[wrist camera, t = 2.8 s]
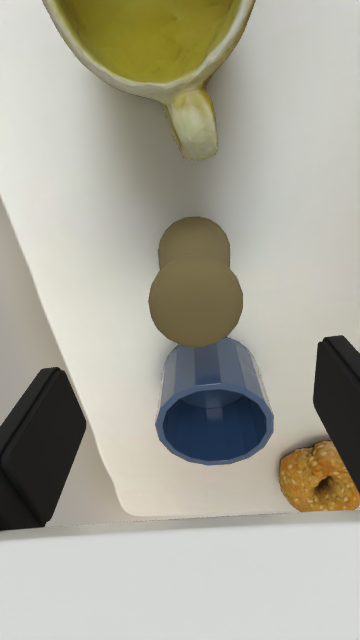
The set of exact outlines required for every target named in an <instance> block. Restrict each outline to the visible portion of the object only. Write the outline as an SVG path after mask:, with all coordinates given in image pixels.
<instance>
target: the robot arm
mask: <svg viewBox="0 0 360 640" xmlns="http://www.w3.org/2000/svg"><path fill="white" fill-rule="evenodd" d="M313 403H314V407H315V409H316V411H317V413H318V415H319V417H320V419H321V421H322V423H323V425H324V427H325V429H326V431H327V433H328V434H329V436H330V438H331V440H332V442H333V444H334V446H335V448H336V450H337V452H338V454H339V456H340V457H341V459H342V461H343V463H344V465H345V467H346V469H347V471H348V473H349V475H350V477H351V479H352V481H353V482H354V484H355V486H356V488H357V490H358V492H359V494H360V353H359V352H358V351H357V350H356V349H355V348H354V347H353V346H352V345H351V344H350V342H349V341H348V340H347V339H346V338H345V337H344V336H342V335H340V336H331V337H325V338H324V339H323V342H319V343H318V348H317V360H316V371H315V382H314V394H313ZM85 430H86V420H85V417H84V415H83V413H82V410H81V408H80V406H79V403H78V401H77V398H76V396H75V394H74V392H73V389H72V387H71V384H70V382H69V380H68V378H67V375H66V373H65V371H63V370H61V369H60V368H58V367H53V368H45V369H42V370H40V372H39V373H38V374H37V376H36V377H35V379H34V380H33V381H32V383H31V384H30V386H29V387H28V389H27V390H26V391H25V393H24V394H23V395H22V397H21V398H20V400H19V401H18V402H17V404H16V405H15V407H14V408H13V410H12V411H11V412H10V414H9V415H8V417H7V418H6V419H5V421H4V422H3V424H2V425H1V426H0V640H360V510H343V511H315V512H297V513H278V514H258V515H239V516H221V517H205V518H187V519H169V520H152V521H135V522H119V523H104V524H88V525H72V526H58V527H45V524H46V522H48V521H50V519H51V518H52V516H53V513H54V511H55V508H56V505H57V503H58V500H59V498H60V495H61V492H62V490H63V487H64V485H65V482H66V479H67V477H68V474H69V472H70V469H71V467H72V464H73V461H74V459H75V456H76V453H77V451H78V448H79V445H80V443H81V440H82V438H83V435H84V433H85Z"/></svg>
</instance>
